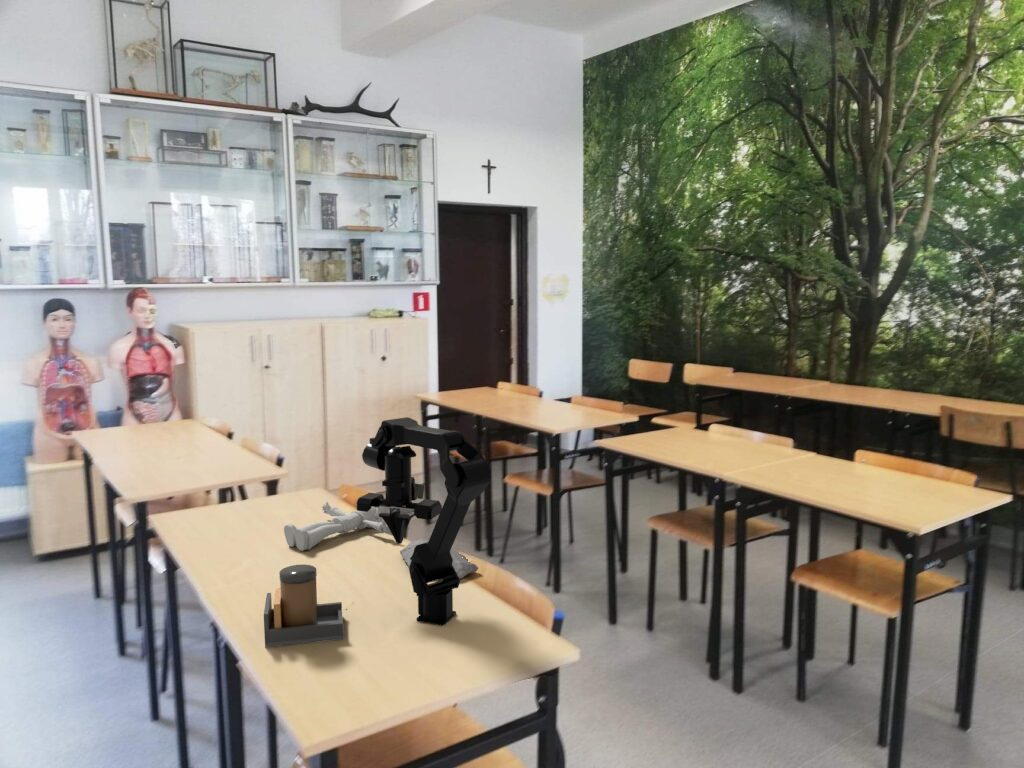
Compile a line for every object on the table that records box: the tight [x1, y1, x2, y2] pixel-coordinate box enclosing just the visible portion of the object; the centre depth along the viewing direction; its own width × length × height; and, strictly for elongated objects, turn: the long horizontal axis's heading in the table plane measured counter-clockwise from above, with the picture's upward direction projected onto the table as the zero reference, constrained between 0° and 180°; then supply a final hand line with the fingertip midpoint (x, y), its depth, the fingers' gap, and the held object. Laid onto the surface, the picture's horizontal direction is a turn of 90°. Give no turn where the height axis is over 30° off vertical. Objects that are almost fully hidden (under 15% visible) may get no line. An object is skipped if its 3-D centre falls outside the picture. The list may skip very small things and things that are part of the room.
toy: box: [283, 501, 393, 552], centre depth 219 cm, size 33×8×30 cm
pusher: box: [273, 587, 282, 629], centre depth 158 cm, size 1×8×7 cm, turn 14°
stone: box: [399, 539, 479, 580], centre depth 196 cm, size 16×6×25 cm
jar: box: [278, 564, 318, 628], centre depth 159 cm, size 7×7×12 cm
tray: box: [263, 592, 344, 648], centre depth 160 cm, size 15×11×7 cm
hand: (399, 543), depth 175 cm, fingers closed
